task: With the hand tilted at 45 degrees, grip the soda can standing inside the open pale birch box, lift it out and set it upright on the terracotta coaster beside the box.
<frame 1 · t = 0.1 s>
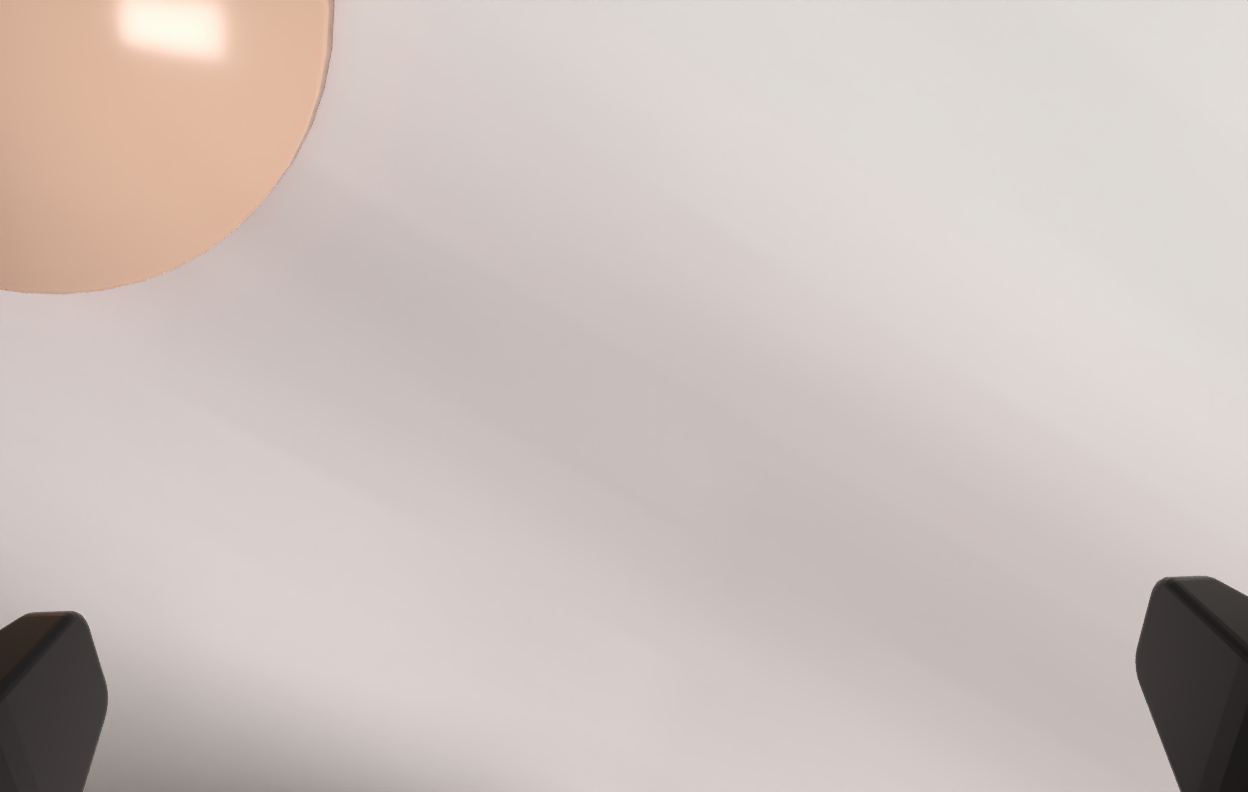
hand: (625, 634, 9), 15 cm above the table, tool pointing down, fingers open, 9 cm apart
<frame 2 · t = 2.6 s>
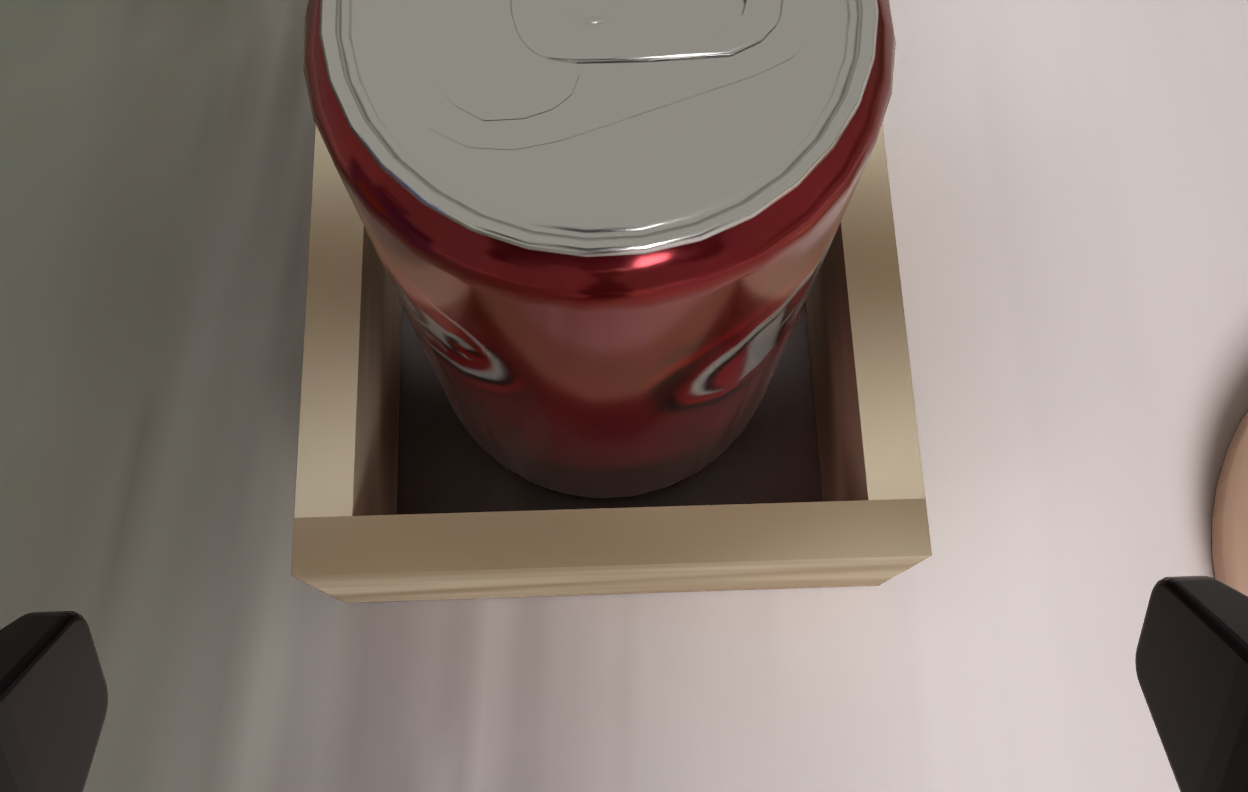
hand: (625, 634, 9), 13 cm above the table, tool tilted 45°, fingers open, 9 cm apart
birch box: (605, 342, 24), on the table
soda can: (605, 346, 25), resting in birch box
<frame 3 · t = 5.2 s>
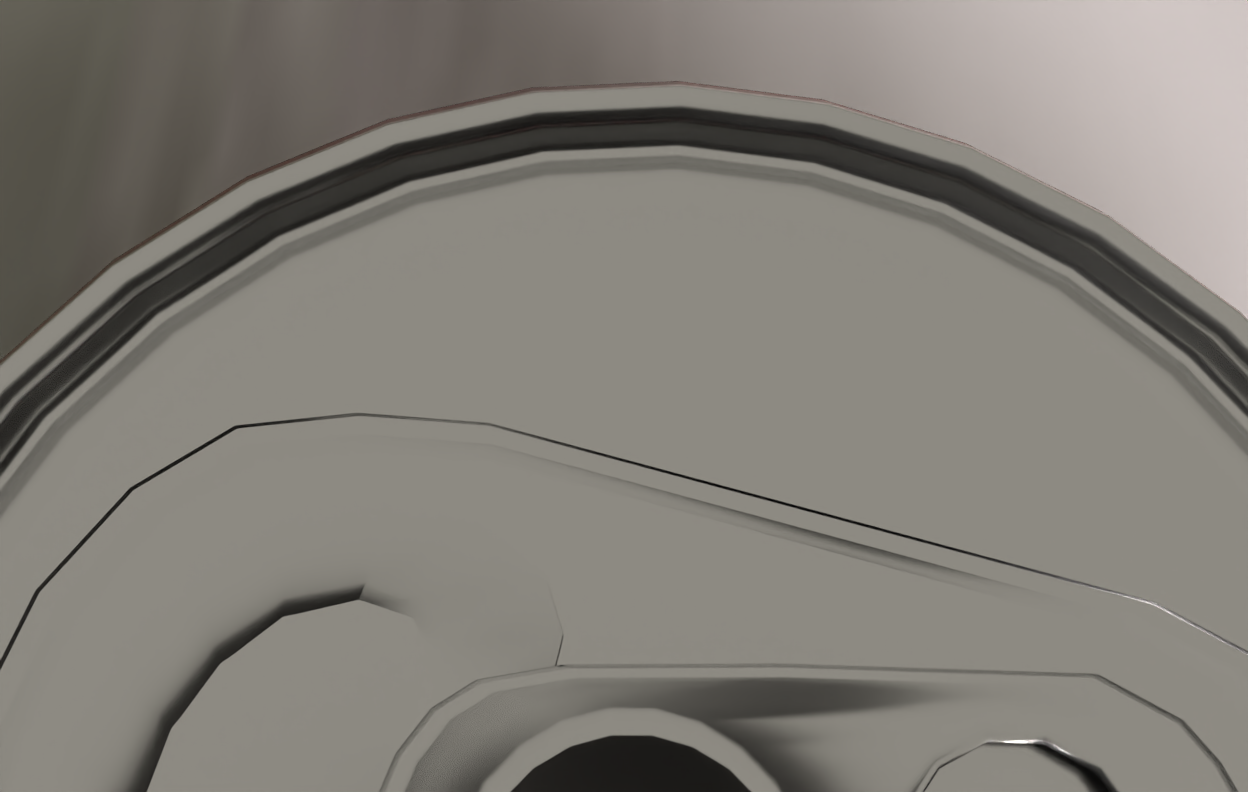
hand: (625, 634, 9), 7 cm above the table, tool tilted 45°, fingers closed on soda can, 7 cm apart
soda can: (623, 779, 15), resting in birch box, touching gripper
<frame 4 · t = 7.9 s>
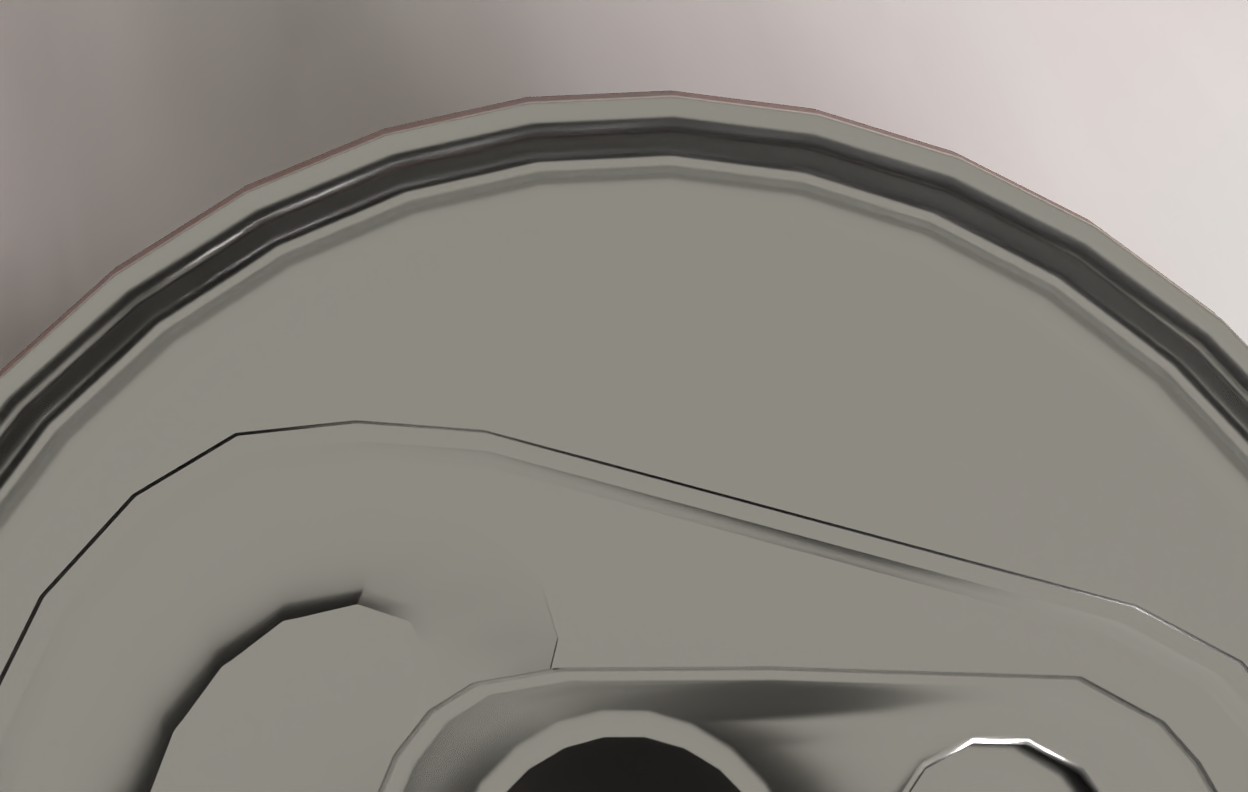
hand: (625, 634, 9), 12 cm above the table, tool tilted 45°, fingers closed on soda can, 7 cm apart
soda can: (620, 774, 16), point 5 cm above the table, touching gripper
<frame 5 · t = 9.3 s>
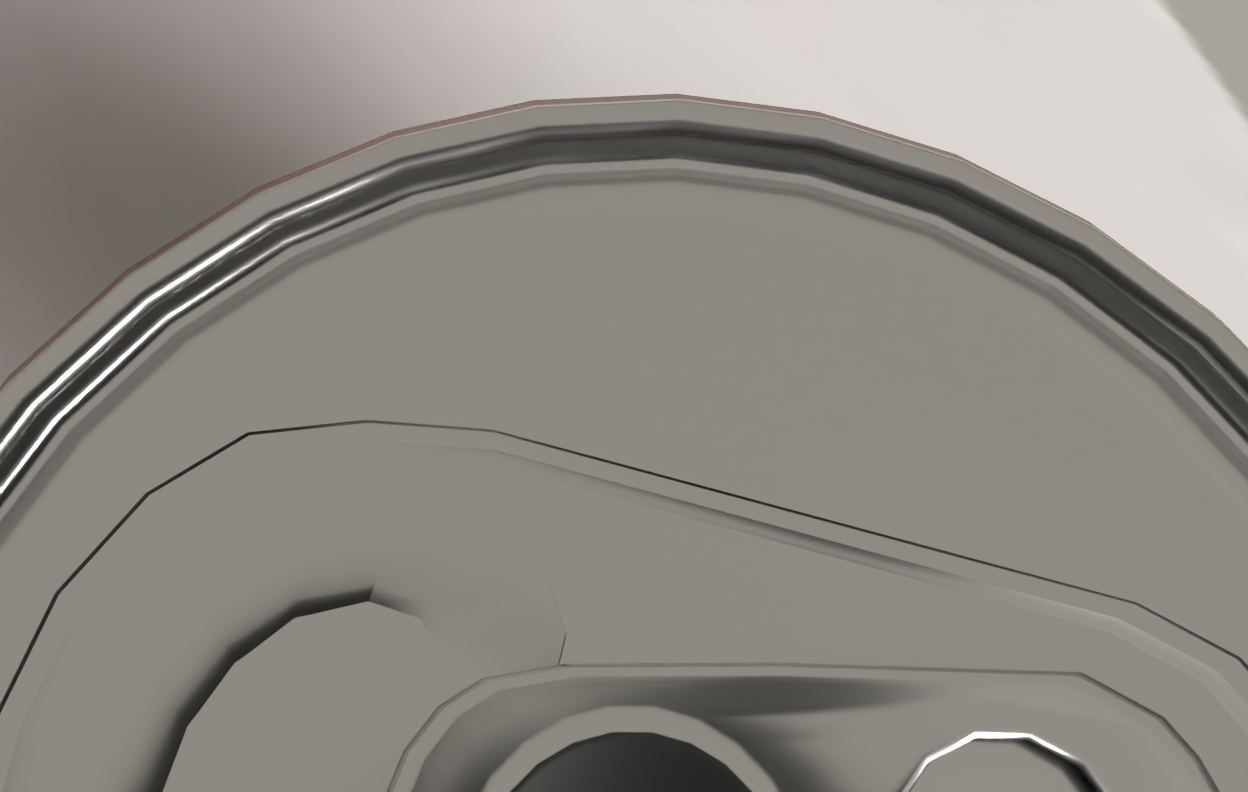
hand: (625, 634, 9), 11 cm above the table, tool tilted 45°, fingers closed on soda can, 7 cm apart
soda can: (622, 772, 16), point 4 cm above the table, touching gripper
when the fingers open (8 cm above the table, at t = 10.7 s): soda can stays where it is, resting on coaster.
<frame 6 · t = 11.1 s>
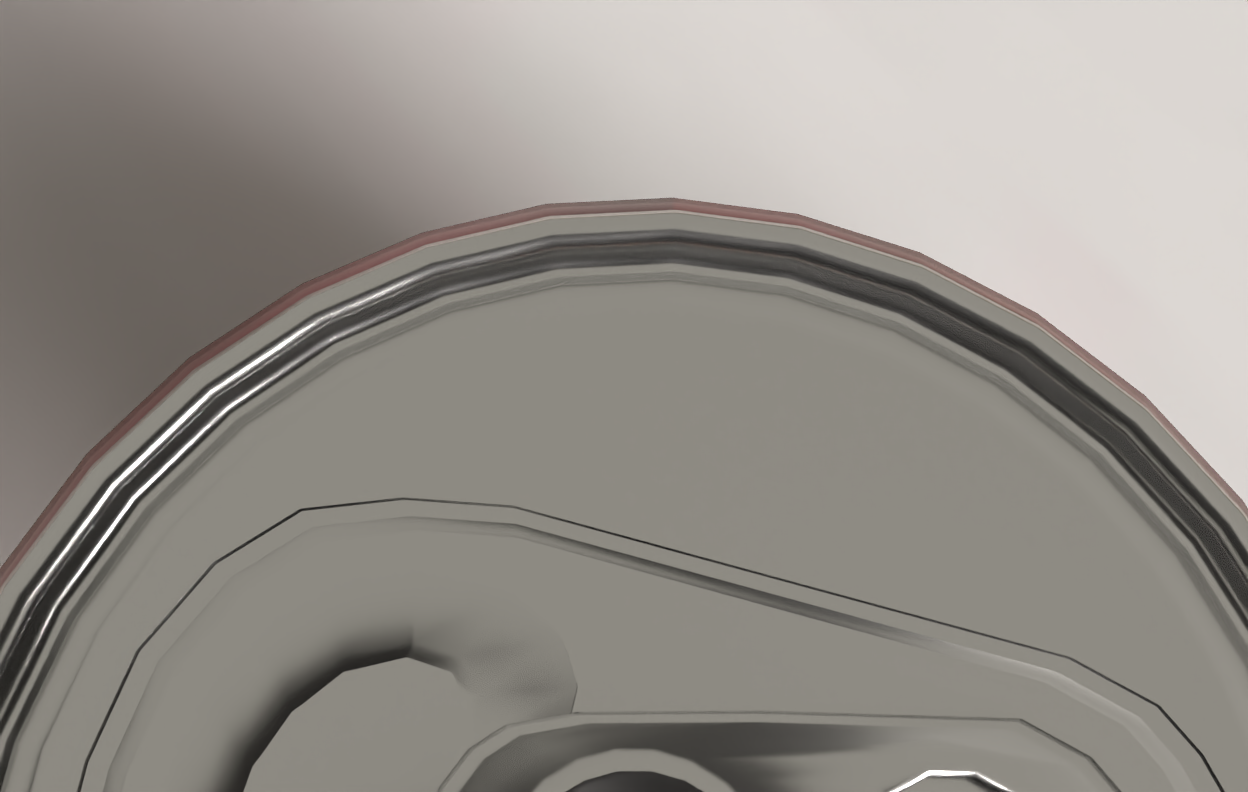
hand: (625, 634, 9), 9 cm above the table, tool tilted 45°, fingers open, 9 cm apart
soda can: (622, 785, 16), point 1 cm above the table, touching coaster
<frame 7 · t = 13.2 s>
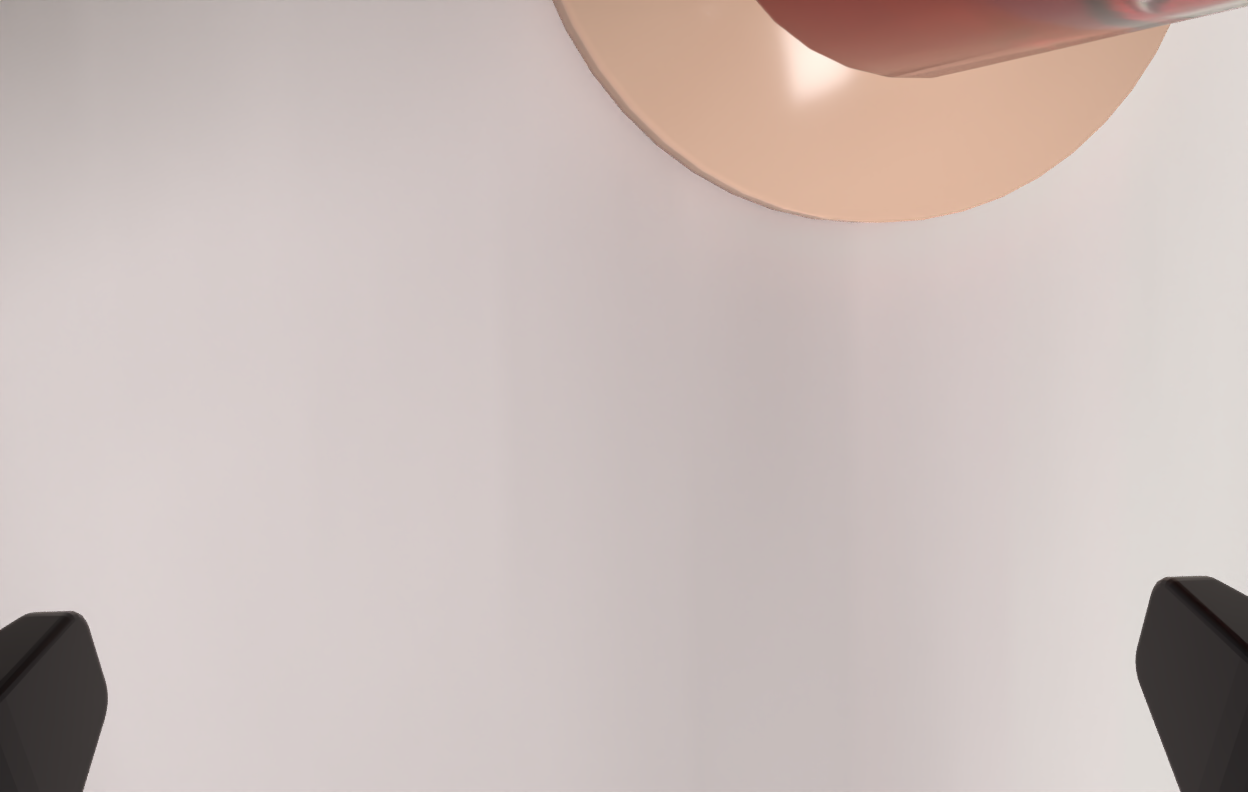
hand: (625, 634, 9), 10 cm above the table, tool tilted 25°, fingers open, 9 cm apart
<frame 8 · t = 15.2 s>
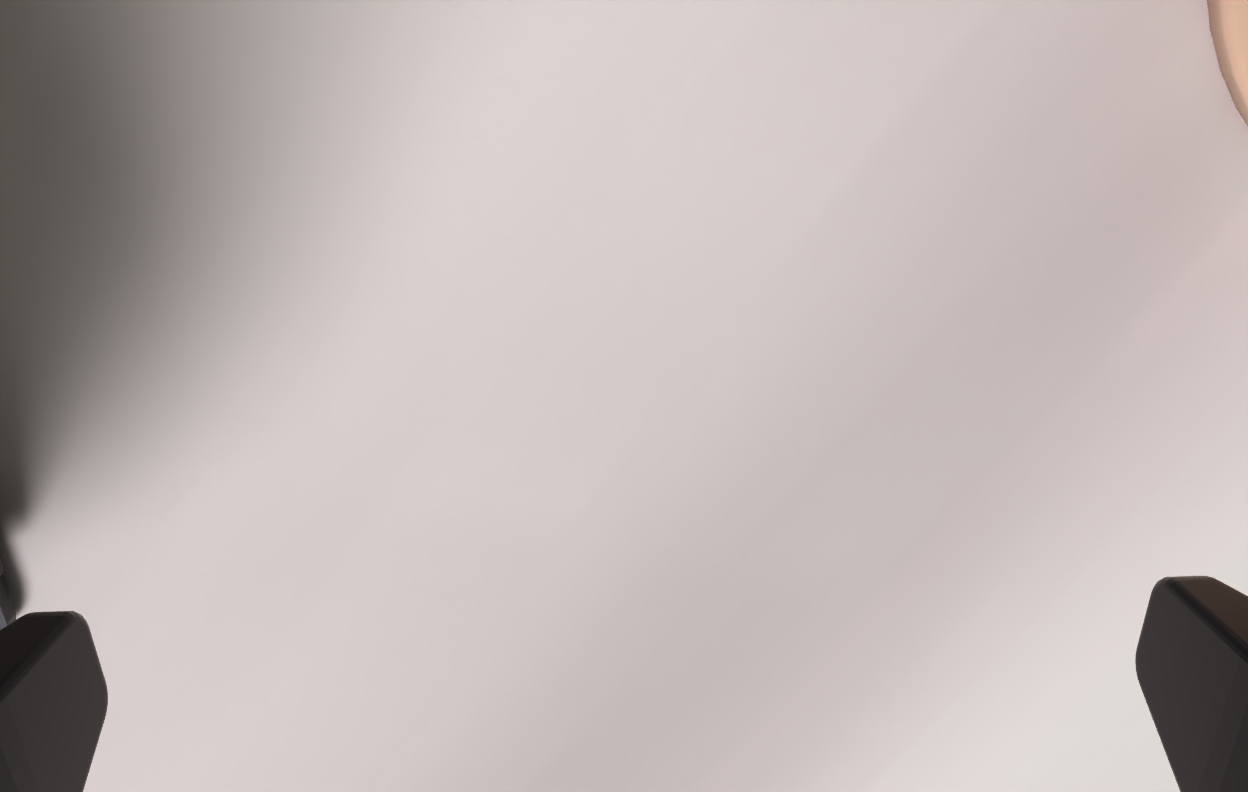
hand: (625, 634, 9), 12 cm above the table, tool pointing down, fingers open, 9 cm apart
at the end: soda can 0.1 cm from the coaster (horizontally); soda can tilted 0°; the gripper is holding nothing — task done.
